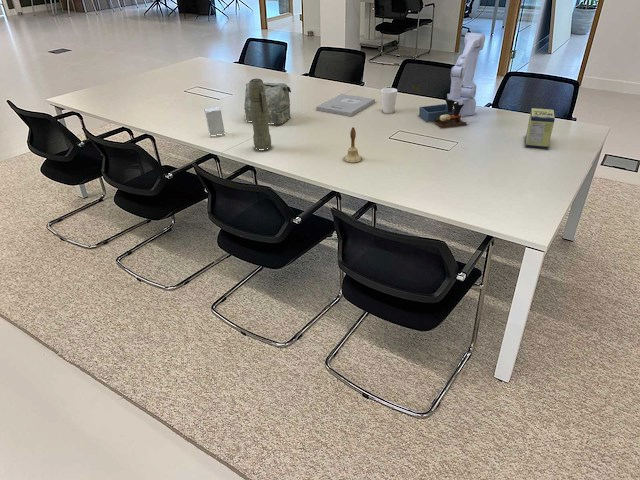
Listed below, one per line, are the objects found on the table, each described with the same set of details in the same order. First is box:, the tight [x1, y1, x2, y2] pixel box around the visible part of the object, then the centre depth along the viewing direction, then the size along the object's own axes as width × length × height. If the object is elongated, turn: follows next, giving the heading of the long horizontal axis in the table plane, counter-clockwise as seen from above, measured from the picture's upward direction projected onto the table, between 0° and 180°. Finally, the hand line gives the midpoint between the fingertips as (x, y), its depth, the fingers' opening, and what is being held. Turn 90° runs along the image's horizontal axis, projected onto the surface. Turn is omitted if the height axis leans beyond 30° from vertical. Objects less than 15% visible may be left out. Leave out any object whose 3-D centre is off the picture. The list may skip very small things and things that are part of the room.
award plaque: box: [315, 93, 376, 117], centre depth 306 cm, size 25×30×2 cm
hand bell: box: [343, 126, 362, 164], centre depth 234 cm, size 8×8×16 cm
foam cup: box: [380, 87, 398, 114], centre depth 291 cm, size 10×9×13 cm
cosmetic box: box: [204, 106, 226, 139], centre depth 268 cm, size 8×6×15 cm
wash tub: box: [418, 103, 454, 123], centre depth 283 cm, size 17×12×5 cm
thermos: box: [248, 78, 272, 152], centre depth 244 cm, size 9×12×35 cm
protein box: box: [525, 107, 556, 150], centre depth 243 cm, size 10×16×16 cm
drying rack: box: [433, 116, 468, 129], centre depth 273 cm, size 15×9×5 cm, turn 104°
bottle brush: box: [440, 114, 462, 121], centre depth 272 cm, size 12×3×3 cm, turn 104°
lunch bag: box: [243, 81, 292, 126], centre depth 284 cm, size 26×18×22 cm
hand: (453, 113), depth 271 cm, fingers open, 7 cm apart
